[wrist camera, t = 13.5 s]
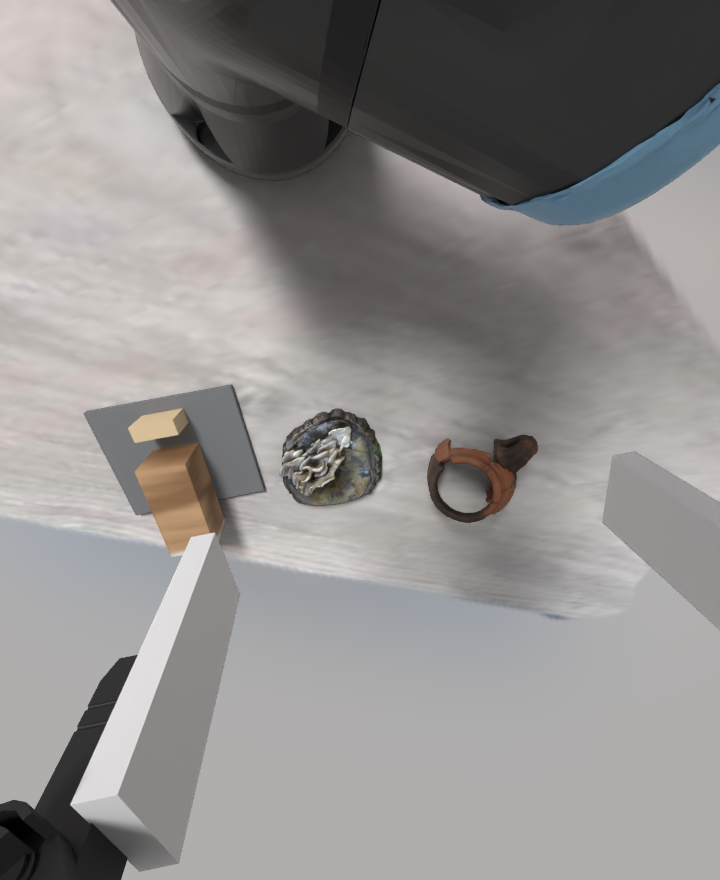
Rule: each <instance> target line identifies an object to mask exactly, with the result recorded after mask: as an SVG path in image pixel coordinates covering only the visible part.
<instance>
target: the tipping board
mask: <svg viewBox="0 0 720 880" xmlns="http://www.w3.org/2000/svg"><path fill="white" fill-rule="evenodd" d="M84 415H85V417H86V419H87V421H88V423H89V425H90V427H91V429H92V431H93V433H94V435H95V437H96V439H97V441H98V443H99V445H100V446H101V448H102V450H103V452H104V454H105V456H106V458H107V460H108V462H109V464H110V466H111V468H112V470H113V472H114V474H115V476H116V478H117V479H118V481H119V483H120V485H121V487H122V489H123V491H124V493H125V495H126V497H127V499H128V501H129V503H130V505H131V507H132V509H133V511H134V512H135V514H136V515H140V514H145V513H150V512H152V511H151V509H150V507H149V504H148V502H147V500H146V497H145V495H144V493H143V491H142V488H141V486H140V484H139V481H138V479H137V477H136V475H135V471H136V469H137V468H138V467H139V466H140V465H141V464H142V462H143V461H144V460H145V459H146V458H147V457H148V455H149V454H150V453H151V452H152V451H153V450H154V449H160V448H167V447H174V446H181V445H187V444H194V443H199V445H200V448H201V451H202V454H203V457H204V460H205V463H206V466H207V469H208V472H209V475H210V477H211V480H212V483H213V486H214V489H215V492H216V495H217V498H218V499H223V498H229V497H234V496H239V495H244V494H250V493H255V492H260V491H264V489H265V487H264V484H263V481H262V478H261V475H260V471H259V468H258V465H257V462H256V459H255V456H254V453H253V449H252V446H251V443H250V440H249V437H248V434H247V431H246V428H245V424H244V421H243V418H242V415H241V412H240V409H239V406H238V402H237V399H236V396H235V393H234V390H233V387H232V385H227V386H221V387H216V388H210V389H205V390H199V391H194V392H188V393H183V394H177V395H172V396H167V397H161V398H156V399H150V400H145V401H139V402H134V403H128V404H123V405H117V406H112V407H107V408H101V409H96V410H90V411H86V412H85V413H84Z"/></svg>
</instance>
